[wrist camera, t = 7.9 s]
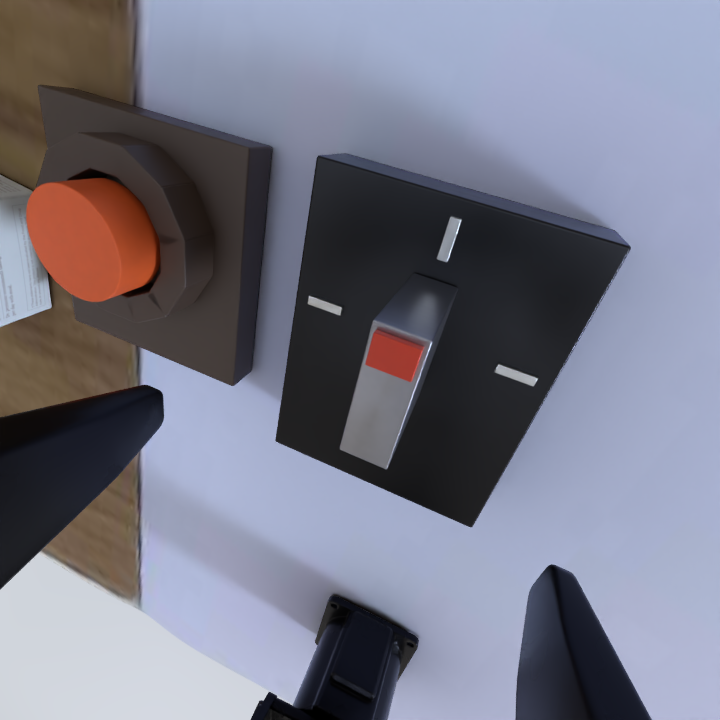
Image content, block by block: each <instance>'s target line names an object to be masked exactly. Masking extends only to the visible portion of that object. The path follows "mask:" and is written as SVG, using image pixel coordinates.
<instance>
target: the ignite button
mask: <svg viewBox="0 0 720 720" xmlns="http://www.w3.org/2000/svg"><path fill="white" fill-rule="evenodd" d="M26 220H27V228H28V232H29V236H30V239H31V242H32V245H33V247H34V249H35V252H36V253H37V255H38V257H39V259H40V261H41V262H42V264H43V266H44V267H45V268H46V270H47V271H48V273H49V274H50V275H51V276H52V277H53V279H54V280H55V281H56V282H57V283H58V284H59V285H61V286H62V287H63V288H64V289H65V290H67V291H68V292H69V293H71V294H72V295H74V296H76V297H78V298H80V299H83V300H86V301H90V302H101V301H105V300H108V299H110V298H113V297H115V296H118V295H121V294H123V293H126V292H128V291H131V290H134V289H136V288H139V287H142V286H144V285H146V284H148V283H149V282H150V281H151V280H153V278H154V277H155V275H156V274H157V272H158V269H159V266H160V241H159V237H158V235H157V233H156V231H155V228H154V226H153V224H152V222H151V220H150V217H149V215H148V213H147V211H146V208H145V207H144V205H143V204H142V203H141V201H140V200H139V199H138V198H137V197H136V196H135V195H134V194H133V193H132V192H131V191H130V190H128V189H127V188H126V187H124V186H123V185H121V184H119V183H118V182H115V181H113V180H110V179H106V178H92V179H81V180H70V181H59V182H49V183H44V184H41V185H40V186H38V187H37V188H36V189H35V190H34V191H33V192H32V194H31V195H30V197H29V200H28V203H27V209H26Z"/></svg>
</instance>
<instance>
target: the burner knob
mask: <svg viewBox="0 0 720 720" xmlns="http://www.w3.org/2000/svg"><path fill="white" fill-rule="evenodd" d="M457 290H458V288H457V287H454V286H451V285H448V284H445V283H442V282H439V281H436V280H433V279H430V278H427V277H424V276H421V275H418V274H415V273H413V275H412V276H411V277H410V278H409V279H408V280H407V282H406V283H405V284H404V285H403V286H402V287H401V289H400V290H399V291H398V292H397V293H396V294H395V296H394V297H393V298H392V299H391V300H390V301H389V303H388V304H387V305H386V306H385V307H384V308H383V310H382V311H381V312H380V313H379V314H378V315H377V317H376V318H375V319H374V320H373V322H372V326H371V330H370V333H369V337H368V341H367V345H366V349H365V353H364V357H363V360H362V364H361V368H360V372H359V376H358V380H357V383H356V387H355V391H354V395H353V399H352V403H351V406H350V410H349V414H348V418H347V422H346V426H345V429H344V433H343V437H342V441H341V445H340V450H342V451H345V452H347V453H349V454H352V455H354V456H356V457H359V458H361V459H363V460H365V461H368V462H370V463H372V464H375V465H377V466H379V467H382V468H384V469H387V468H388V466H389V464H390V462H391V459H392V457H393V455H394V452H395V450H396V448H397V445H398V443H399V441H400V438H401V436H402V434H403V431H404V429H405V427H406V424H407V422H408V420H409V417H410V415H411V413H412V410H413V408H414V406H415V404H416V401H417V399H418V397H419V394H420V391H421V389H422V386H423V383H424V380H425V378H426V375H427V372H428V370H429V367H430V364H431V361H432V359H433V356H434V353H435V350H436V348H437V345H438V342H439V339H440V337H441V334H442V331H443V328H444V326H445V323H446V320H447V318H448V315H449V312H450V309H451V307H452V304H453V301H454V298H455V296H456V293H457Z"/></svg>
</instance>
